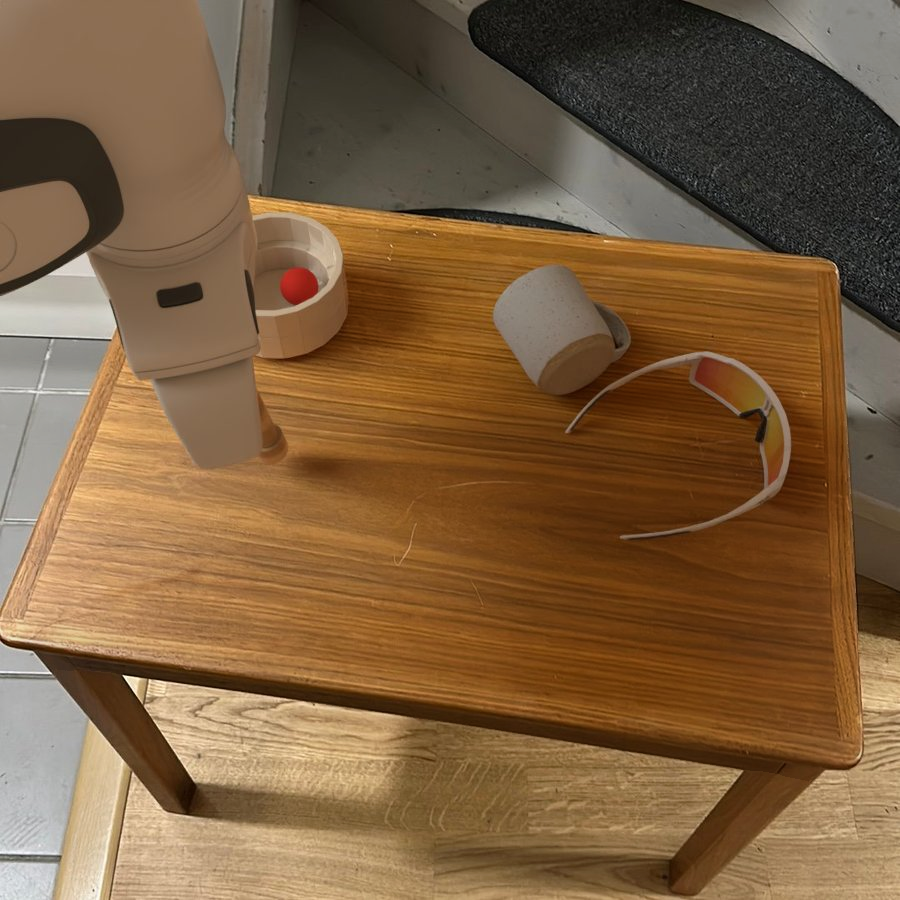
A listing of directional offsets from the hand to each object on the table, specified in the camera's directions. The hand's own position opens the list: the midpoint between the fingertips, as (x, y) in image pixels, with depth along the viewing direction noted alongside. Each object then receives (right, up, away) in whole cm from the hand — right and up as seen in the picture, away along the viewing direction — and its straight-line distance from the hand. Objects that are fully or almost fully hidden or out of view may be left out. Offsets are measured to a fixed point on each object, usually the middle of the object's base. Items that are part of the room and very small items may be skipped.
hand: (221, 382), depth 61 cm
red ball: (+2, +9, +17) cm, 19 cm away
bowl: (+1, +7, +18) cm, 20 cm away
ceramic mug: (+25, +3, +16) cm, 30 cm away
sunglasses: (+33, -5, +11) cm, 35 cm away
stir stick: (+2, -4, +8) cm, 10 cm away
